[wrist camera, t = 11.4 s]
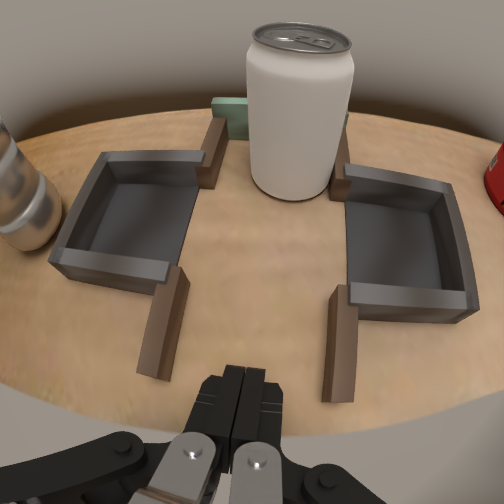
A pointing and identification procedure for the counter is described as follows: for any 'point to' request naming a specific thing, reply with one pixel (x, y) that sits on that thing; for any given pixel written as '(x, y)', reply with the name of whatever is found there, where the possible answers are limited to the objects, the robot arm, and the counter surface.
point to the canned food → (496, 179)
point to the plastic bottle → (25, 199)
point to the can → (296, 106)
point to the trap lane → (341, 189)
